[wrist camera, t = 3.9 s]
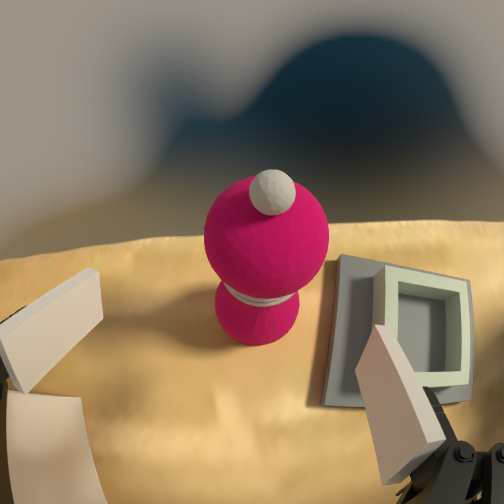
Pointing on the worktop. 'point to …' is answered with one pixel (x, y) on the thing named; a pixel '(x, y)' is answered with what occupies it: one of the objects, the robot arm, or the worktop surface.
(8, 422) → the white notched cradle block
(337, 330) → the socket board
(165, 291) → the worktop surface
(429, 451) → the robot arm
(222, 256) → the pepper mill
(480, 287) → the worktop surface
